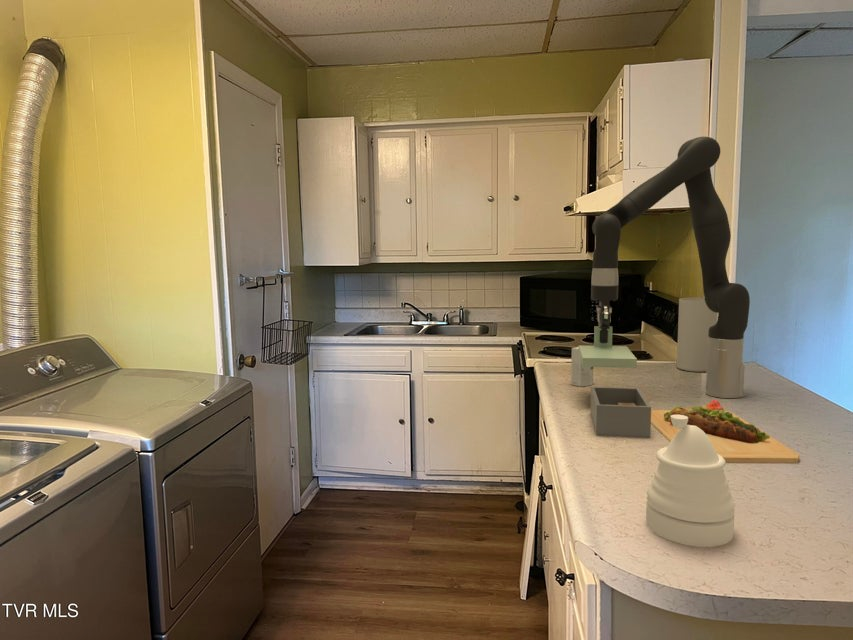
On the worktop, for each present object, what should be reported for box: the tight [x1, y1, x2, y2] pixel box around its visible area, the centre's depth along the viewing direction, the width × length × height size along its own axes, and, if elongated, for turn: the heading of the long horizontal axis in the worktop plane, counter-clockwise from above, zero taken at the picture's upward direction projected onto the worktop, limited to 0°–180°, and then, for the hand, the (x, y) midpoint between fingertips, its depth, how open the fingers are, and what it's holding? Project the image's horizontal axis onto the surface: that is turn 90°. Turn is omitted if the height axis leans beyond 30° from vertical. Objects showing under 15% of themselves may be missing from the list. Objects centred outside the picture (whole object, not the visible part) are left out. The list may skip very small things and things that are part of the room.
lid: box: [578, 325, 638, 369], centre depth 165 cm, size 14×20×8 cm
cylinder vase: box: [676, 297, 718, 373], centre depth 208 cm, size 12×12×25 cm
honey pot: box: [645, 415, 736, 548], centre depth 93 cm, size 13×13×18 cm
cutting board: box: [651, 398, 800, 464], centre depth 138 cm, size 35×23×8 cm
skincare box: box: [570, 346, 594, 388], centre depth 189 cm, size 6×4×12 cm
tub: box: [589, 386, 652, 439], centre depth 144 cm, size 12×18×8 cm, turn 169°
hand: (603, 342), depth 174 cm, fingers closed on lid, 1 cm apart
